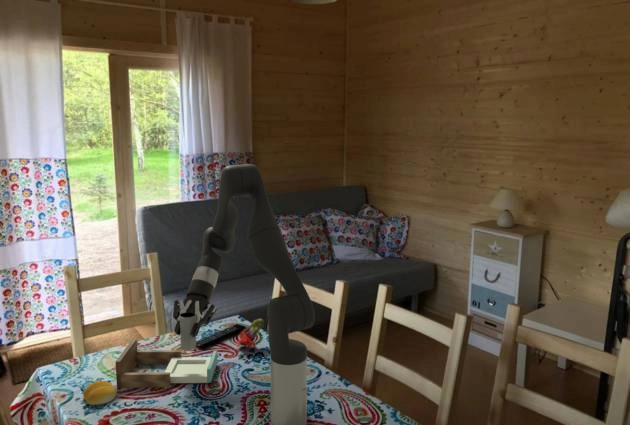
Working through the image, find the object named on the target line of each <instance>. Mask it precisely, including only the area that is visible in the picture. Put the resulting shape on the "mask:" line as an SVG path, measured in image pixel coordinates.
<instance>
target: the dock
mask: <svg viewBox="0 0 630 425" xmlns="http://www.w3.org/2000/svg"><path fill="white" fill-rule="evenodd" d="M172 357H183V356H182V349H180V350H179V349H178V350H177V349H176V350H175V349H174V350H172V349H166V350H165V349H164V350H160V349H159V350H158V349H157V350H155V349H154V350H138V338H132V339H131V341H130V342H129V343H128V345H127V346H126V347H125V348H124V350H123V351H122V352H121V353H120V355H119V356H118V357H117V359H116V360H115V376H116V377H115V378H116V379H115V380H116V389H119V388H120V389H123V388H125V389H126V388H128V389H129V388H130V389H132V388H135V389H136V388H137V389H138V388H141V389H142V388H147V389H149V388H170V387H171V384H172V383H171V382H170V372H165V371H164V372H133V370H134V369H135V367H136V366H137V365H169V363H170V361H171V359H172Z"/></svg>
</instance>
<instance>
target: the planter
mask: <svg viewBox="0 0 630 425" xmlns="http://www.w3.org/2000/svg"><path fill="white" fill-rule="evenodd" d="M194 323H196V316H195V313H193V312H184V313H182V314H181V313H180V335H179V336H180V348H181V350H184V351H190V350H193V349H195V348H196V347H197V336H196V337H192V336H191V335H190V334H191V331H192V328H193V325H194Z"/></svg>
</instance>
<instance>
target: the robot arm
mask: <svg viewBox="0 0 630 425" xmlns="http://www.w3.org/2000/svg"><path fill="white" fill-rule="evenodd" d="M243 197H251V199H252V201H253V206H254V207H253V212H252V216H251V218H250V222H249V224H248V228H247V231H246V238H247V242H248V246H249V248H250V250H251V254H252V256H253V259H254V260H255V261H256V262H257V263H258V265H260V267H262V268H263V269H264V270H265V271H266V272H267V273H268V274H269V275H271V276H272V277H273V278H274V279H276V280H277V282H279V284H280V285H281V287H282V288H283V291H285V293H286V295H281V296H277V297H274V298H271V299H270V300H269V301H268V305H267V309H266V312H267V315H266V316H267V328H268V329H267V331H268V332H267V333H268V346H269V352H270V353H269V355H270V359H269V360H270V366H269V367H270V410H269V412H270V422H271V424H272V425H307V423H308V422H307V417H308V416H307V415H308V412H307V411H308V409H307V407H308V406H307V404H308V403H307V400H308V386H307V384H308V382H307V381H308V380H307V379H308V378H307V376H308V374H307V373H308V371H307V370H308V368H307V367H308V363H307V362H308V361H307V360H308V352H307V351H308V348H307V346H306V344H305V343H303V342H302V341H300V340H296V339H292V338H290V337H289V334H291V333H292V334H293V333H297V332H300V331H301V332H302V331H305V330H307V329H310V328H312V327H313V326H314V324H315V321H316V315H315V314H316V312H315V309H314V306H313V303H312V300H311V298H310V295H309V293H308V291H307V290H306V287H305V284H304V283H303V282H302V279H301V278H300V276H299V274H298V271H297V269H296V267H295V264H294V263H293V259H292V257H291V255H290V252H289V250H288V246H287V245H286V241H285V238H284V236H283V233H282V231H281V229H280V227H279V224H278V221H277V219H276V217H275V214H274V212H273V208H272V206H271V203H270V200H269V196H268V194H267V189H266V186H265V183H264V179H263V176H262V174H261V171H260V169H259V167H258V166H257V165H255V164H254V163H245V164H243V163H242V164H232V165H228V166H227V165H226V166H225V167H223V169H222V171H221V175H220V179H219V188H218V200H217V211H216V214H215V217H214V220H213V223H212V226H210V227H208V228H207V229H206V230H205V231H204V233H203V237H202V253H201V257H200V259H199V262H198V265H197V267H196V270H195V272H194V274H193V276H192V279H191V282H190V284H189V286H188V290H187V291H186V295H185V296H186V297H185V298H184V299H183V300H178V299H176V300H174V302H173V303H174V304H173V312H172V318H173V319H174V320H175V321H176V323H175V327H174V333H175V335H176V336H180V314H182V313H184V312H193V313H195V321H196V323H194V325H193V328H192V331H191V334H190V335H191V336H192V337H196V338H197V336H198V334H199V332H200V329H201V326H203V325H205V326H207V325H208V324H209V323H210V321H211V319H212V318H213V317H214V315H215V314H216V312H217V310H218V309H217V307H216V306H215V304H213V303H211V302H210V301H211V299H212V296H213V293H214V291H215V288H216V286H217V283H218V278H219V275H220V272H221V269H222V265H223V262H224V260H223V258H222V256H221V255H220V254H218V253H216V252H214V251H218V252H221V253H225V254H227V253H230V252H231V251H233V249H234V247H235V244H236V233H235V231H236V230H235V229H236V228H237V227H236V226H237V224H238V222H239V210H238V209H237V207H236V206H235V204H234V203H233V201H232V199H233V198H243ZM213 250H214V251H213ZM210 303H211V304H210ZM182 308H183V309H182ZM205 311H206V312H205ZM204 312H205V314H204Z"/></svg>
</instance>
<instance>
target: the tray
mask: <svg viewBox="0 0 630 425" xmlns="http://www.w3.org/2000/svg"><path fill="white" fill-rule="evenodd" d="M217 364H218V350H213V352H212V355H211V356H208V357H207V356H205V357H204V356H203V357H201V356H200V357H197V356H196V357H195V356H194V357H193V356H191V357H188V356H186V357H183V356H182V357H172V359H171V361H170V363H169V364H167V367H165V368H166V369H165V370H164V372H170V382H171V384H211V382H212V381H213V376H214V374H215V371H216V368H217Z"/></svg>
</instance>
